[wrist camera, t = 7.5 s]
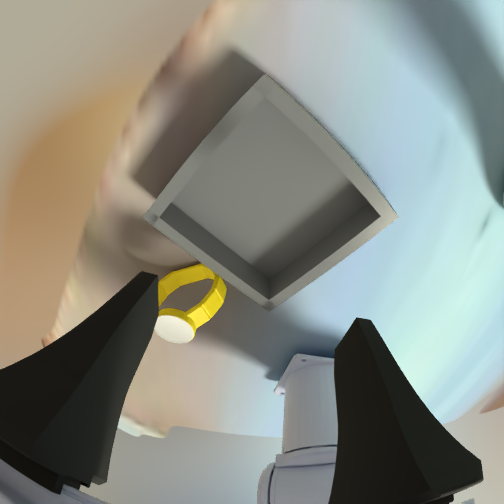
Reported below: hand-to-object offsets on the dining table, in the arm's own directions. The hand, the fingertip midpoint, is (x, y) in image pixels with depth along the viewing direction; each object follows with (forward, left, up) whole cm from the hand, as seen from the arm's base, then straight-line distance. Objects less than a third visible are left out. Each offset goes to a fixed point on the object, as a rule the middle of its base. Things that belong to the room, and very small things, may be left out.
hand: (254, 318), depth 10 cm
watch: (+4, +7, -10) cm, 13 cm away
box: (0, 0, -10) cm, 10 cm away
